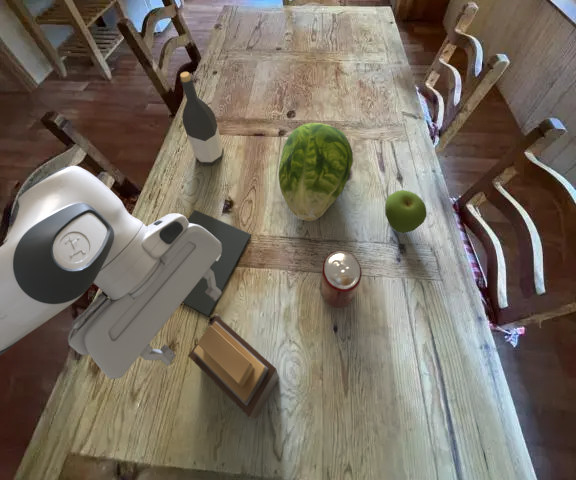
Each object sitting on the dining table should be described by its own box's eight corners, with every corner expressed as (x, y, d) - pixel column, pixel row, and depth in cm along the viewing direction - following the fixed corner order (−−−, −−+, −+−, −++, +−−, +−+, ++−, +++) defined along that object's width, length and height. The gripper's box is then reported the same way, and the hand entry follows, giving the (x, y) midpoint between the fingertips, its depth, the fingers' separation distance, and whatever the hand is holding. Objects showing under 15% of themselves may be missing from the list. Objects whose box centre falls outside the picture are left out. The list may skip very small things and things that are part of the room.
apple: (422, 220, 81) (435, 195, 73) (410, 250, 77) (422, 227, 68) (388, 201, 85) (397, 176, 77) (374, 229, 80) (382, 205, 72)
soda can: (316, 302, 70) (318, 283, 61) (324, 266, 75) (327, 244, 66) (351, 314, 68) (358, 296, 60) (357, 277, 73) (364, 255, 65)
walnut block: (256, 420, 57) (248, 417, 50) (201, 366, 63) (187, 355, 55) (279, 378, 61) (276, 368, 54) (226, 330, 67) (216, 315, 59)
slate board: (209, 317, 68) (208, 316, 68) (146, 283, 73) (145, 281, 73) (251, 235, 80) (251, 234, 79) (194, 210, 85) (194, 208, 84)
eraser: (247, 406, 51) (240, 402, 45) (195, 354, 55) (183, 344, 50) (268, 369, 54) (264, 361, 48) (217, 323, 58) (208, 310, 53)
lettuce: (254, 210, 76) (325, 201, 66) (269, 120, 89) (330, 101, 79) (301, 231, 87) (368, 226, 77) (308, 148, 100) (366, 135, 90)
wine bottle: (229, 148, 98) (210, 68, 77) (213, 170, 93) (188, 90, 72) (206, 139, 101) (181, 59, 80) (189, 160, 96) (158, 80, 75)
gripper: (59, 345, 39) (142, 417, 42) (191, 206, 51) (249, 269, 53) (58, 328, 44) (132, 393, 47) (178, 205, 56) (231, 263, 58)
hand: (195, 326), depth 50 cm, fingers open, 8 cm apart
